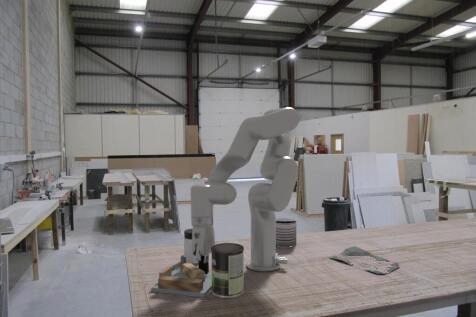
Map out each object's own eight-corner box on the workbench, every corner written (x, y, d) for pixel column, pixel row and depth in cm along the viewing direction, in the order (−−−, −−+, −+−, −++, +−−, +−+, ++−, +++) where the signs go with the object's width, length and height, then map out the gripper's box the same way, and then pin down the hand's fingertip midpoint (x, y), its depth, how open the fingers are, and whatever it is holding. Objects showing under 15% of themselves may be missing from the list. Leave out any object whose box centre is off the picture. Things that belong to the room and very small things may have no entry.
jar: (189, 265, 139) (188, 234, 139) (180, 259, 146) (179, 230, 146) (209, 261, 144) (209, 231, 144) (200, 255, 151) (199, 227, 151)
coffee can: (211, 299, 109) (211, 252, 108) (211, 285, 119) (210, 243, 118) (245, 297, 110) (245, 251, 109) (242, 284, 120) (242, 242, 119)
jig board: (224, 274, 129) (224, 262, 129) (204, 297, 110) (204, 283, 110) (178, 270, 134) (178, 258, 134) (151, 291, 115) (150, 278, 115)
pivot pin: (187, 269, 131) (187, 255, 131) (185, 271, 129) (184, 257, 129) (182, 269, 131) (182, 255, 131) (179, 271, 130) (179, 256, 129)
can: (268, 246, 165) (268, 220, 164) (275, 240, 175) (275, 215, 175) (293, 249, 160) (293, 222, 160) (299, 242, 171) (299, 217, 170)
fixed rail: (203, 289, 113) (203, 279, 113) (199, 292, 110) (199, 283, 110) (162, 284, 117) (162, 275, 117) (158, 288, 114) (158, 278, 114)
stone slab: (407, 271, 136) (407, 265, 135) (380, 281, 127) (380, 275, 127) (354, 251, 156) (354, 245, 156) (328, 258, 147) (328, 253, 147)
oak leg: (181, 272, 128) (181, 263, 128) (189, 270, 130) (188, 262, 130) (197, 282, 118) (197, 273, 118) (205, 280, 120) (204, 271, 120)
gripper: (204, 226, 116) (205, 282, 117) (220, 216, 130) (221, 266, 131) (182, 225, 118) (184, 280, 119) (200, 215, 132) (202, 265, 133)
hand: (203, 273), depth 125 cm, fingers closed
